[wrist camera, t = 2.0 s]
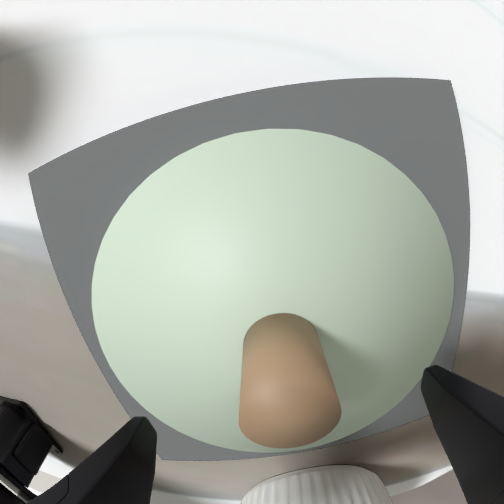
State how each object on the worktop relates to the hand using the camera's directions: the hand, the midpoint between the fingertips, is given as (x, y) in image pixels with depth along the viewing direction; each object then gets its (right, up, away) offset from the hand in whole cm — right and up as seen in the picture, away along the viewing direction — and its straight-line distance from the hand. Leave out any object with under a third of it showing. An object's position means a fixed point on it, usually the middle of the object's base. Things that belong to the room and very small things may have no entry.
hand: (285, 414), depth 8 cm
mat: (0, +2, +5) cm, 5 cm away
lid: (0, +1, +4) cm, 4 cm away
